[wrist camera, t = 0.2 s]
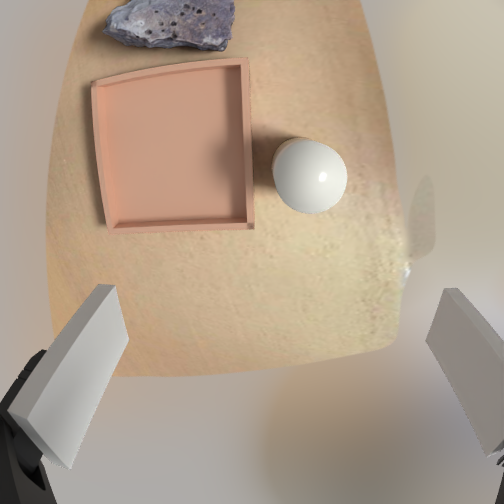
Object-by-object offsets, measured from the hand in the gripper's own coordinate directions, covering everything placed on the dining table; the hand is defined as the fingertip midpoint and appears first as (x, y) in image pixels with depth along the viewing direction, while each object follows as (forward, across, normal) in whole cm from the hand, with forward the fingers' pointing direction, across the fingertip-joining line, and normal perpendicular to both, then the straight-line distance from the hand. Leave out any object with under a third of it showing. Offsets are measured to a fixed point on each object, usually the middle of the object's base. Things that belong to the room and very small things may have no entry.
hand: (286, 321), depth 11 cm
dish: (+28, -11, +4) cm, 30 cm away
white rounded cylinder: (+28, +4, +2) cm, 28 cm away
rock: (+28, -11, +21) cm, 36 cm away
